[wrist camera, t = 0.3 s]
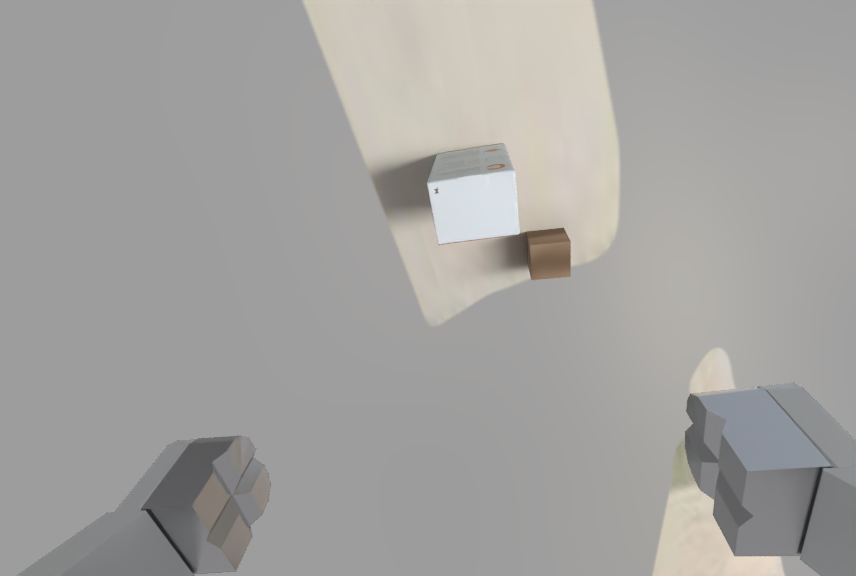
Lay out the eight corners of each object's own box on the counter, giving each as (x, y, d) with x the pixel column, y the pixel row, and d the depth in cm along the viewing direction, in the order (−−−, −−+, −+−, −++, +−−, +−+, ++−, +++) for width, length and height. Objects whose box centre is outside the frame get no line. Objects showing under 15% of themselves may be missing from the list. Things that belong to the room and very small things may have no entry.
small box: (444, 205, 54) (436, 246, 43) (435, 153, 51) (424, 181, 40) (510, 196, 53) (520, 235, 41) (506, 142, 50) (515, 168, 39)
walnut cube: (526, 231, 55) (530, 245, 51) (563, 227, 54) (570, 241, 50) (527, 264, 57) (531, 280, 53) (563, 260, 56) (570, 276, 52)
